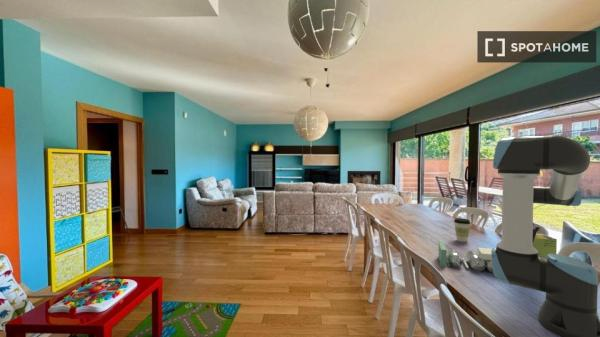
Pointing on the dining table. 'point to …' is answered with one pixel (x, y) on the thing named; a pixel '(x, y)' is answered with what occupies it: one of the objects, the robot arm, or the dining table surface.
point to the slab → (484, 253)
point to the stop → (442, 254)
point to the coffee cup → (462, 229)
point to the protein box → (544, 245)
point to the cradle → (462, 260)
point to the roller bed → (478, 262)
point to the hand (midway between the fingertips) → (521, 258)
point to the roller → (454, 258)
